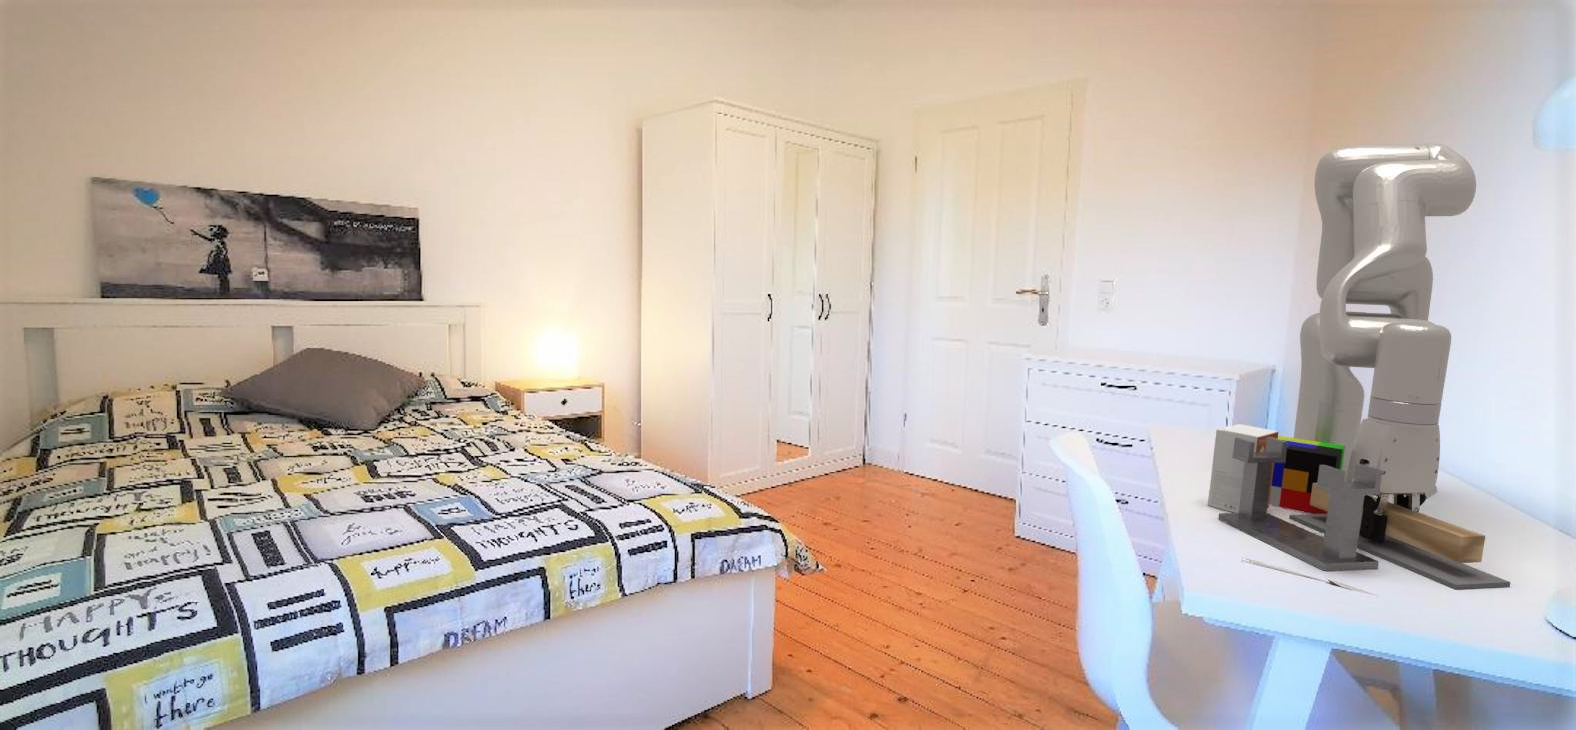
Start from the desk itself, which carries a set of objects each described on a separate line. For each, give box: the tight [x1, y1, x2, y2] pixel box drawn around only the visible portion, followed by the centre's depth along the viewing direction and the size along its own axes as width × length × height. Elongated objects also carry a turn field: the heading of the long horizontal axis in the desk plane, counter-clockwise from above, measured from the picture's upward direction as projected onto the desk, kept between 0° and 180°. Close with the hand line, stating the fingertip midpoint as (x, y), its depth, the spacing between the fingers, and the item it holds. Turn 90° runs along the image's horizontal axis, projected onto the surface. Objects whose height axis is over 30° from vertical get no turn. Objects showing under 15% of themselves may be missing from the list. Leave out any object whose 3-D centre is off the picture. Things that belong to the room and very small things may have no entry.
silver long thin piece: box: [1241, 557, 1378, 597], centre depth 91 cm, size 4×1×19 cm
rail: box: [1310, 483, 1486, 564], centre depth 102 cm, size 4×22×4 cm, turn 8°
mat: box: [1288, 513, 1511, 590], centre depth 103 cm, size 8×25×1 cm, turn 8°
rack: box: [1217, 437, 1382, 572], centre depth 103 cm, size 8×19×13 cm, turn 8°
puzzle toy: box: [1269, 435, 1345, 514], centre depth 122 cm, size 10×10×10 cm
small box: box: [1207, 423, 1280, 513], centre depth 118 cm, size 8×6×13 cm
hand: (1384, 537), depth 103 cm, fingers closed on rail, 3 cm apart
